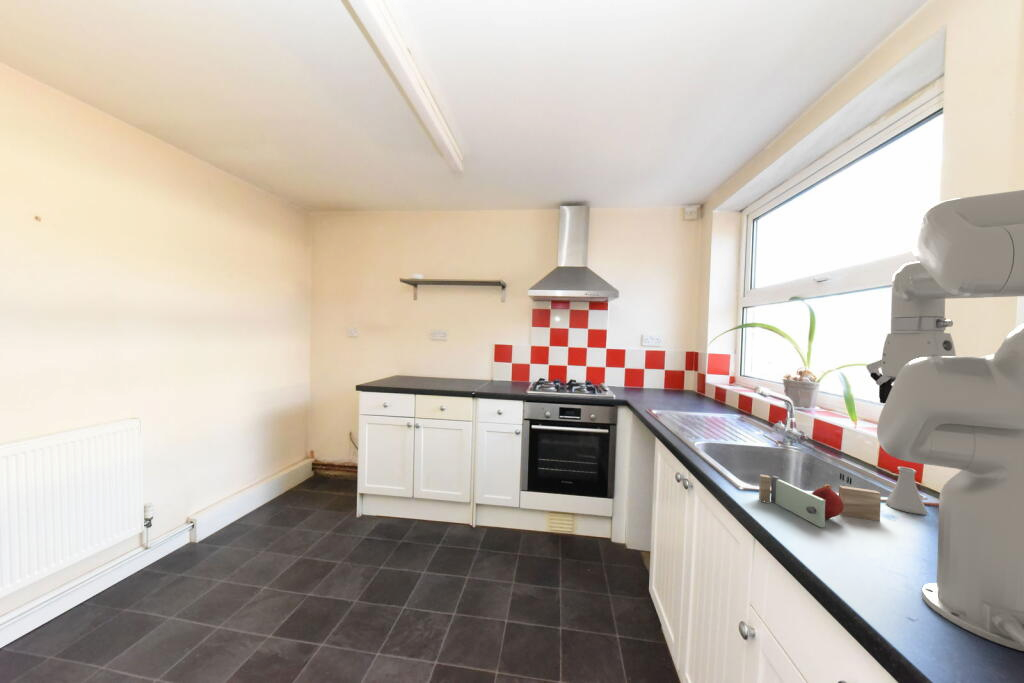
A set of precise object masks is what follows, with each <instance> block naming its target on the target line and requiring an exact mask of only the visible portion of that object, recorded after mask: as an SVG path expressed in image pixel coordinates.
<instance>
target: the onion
mask: <svg viewBox="0 0 1024 683" xmlns="http://www.w3.org/2000/svg"><path fill="white" fill-rule="evenodd" d="M811 494H813V495H815V496H817V497H820V498H822V499H824V500H825V519H826V520H829V519H832V518H835V517H839V516H841V513H842V511H843V508H844V505H843V502H842V500H841V498H840V497H839V494H838V493H837V492H835V491H834V490H832V486H831V485H830V484H824V486H822V487H819V488H817V489H815V490H814V491H812V493H811Z"/></svg>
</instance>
